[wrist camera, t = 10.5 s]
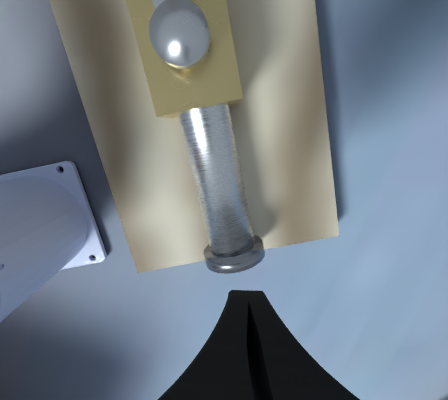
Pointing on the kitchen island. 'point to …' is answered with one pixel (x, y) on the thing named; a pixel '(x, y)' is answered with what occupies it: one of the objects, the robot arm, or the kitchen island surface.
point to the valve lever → (179, 33)
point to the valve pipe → (206, 132)
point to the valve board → (241, 119)
